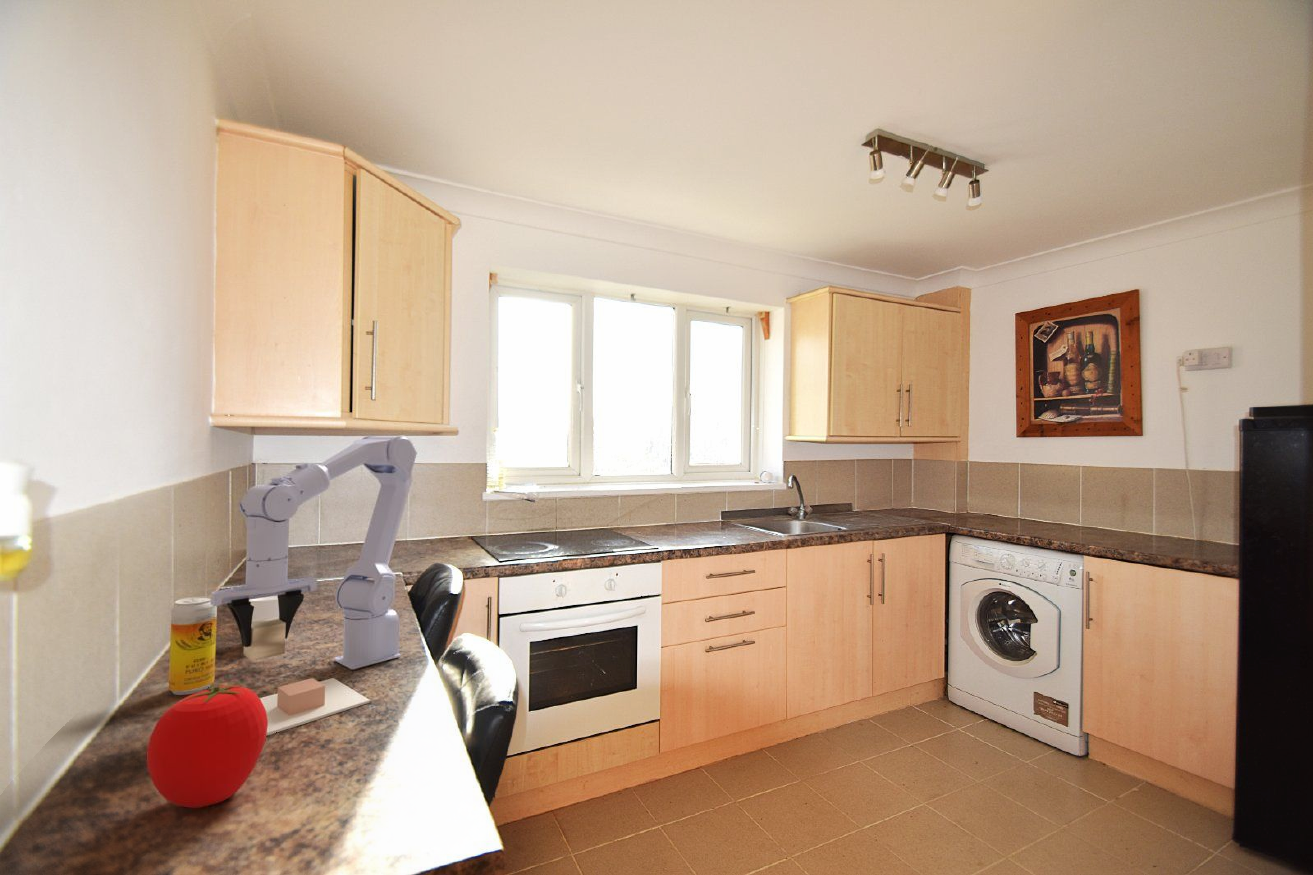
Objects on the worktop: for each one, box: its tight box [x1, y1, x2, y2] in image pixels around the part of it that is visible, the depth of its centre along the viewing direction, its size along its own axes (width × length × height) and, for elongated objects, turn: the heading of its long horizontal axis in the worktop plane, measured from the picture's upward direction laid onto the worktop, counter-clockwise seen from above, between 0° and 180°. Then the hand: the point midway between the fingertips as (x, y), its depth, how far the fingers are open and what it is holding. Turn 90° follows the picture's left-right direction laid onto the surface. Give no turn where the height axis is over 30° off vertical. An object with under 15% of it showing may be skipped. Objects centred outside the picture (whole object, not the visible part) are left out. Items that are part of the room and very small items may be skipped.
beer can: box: [168, 595, 218, 696], centre depth 99 cm, size 6×6×15 cm
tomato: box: [146, 682, 268, 809], centre depth 68 cm, size 11×11×13 cm
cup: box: [249, 595, 279, 622], centre depth 123 cm, size 9×9×10 cm
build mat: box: [259, 677, 371, 737], centre depth 92 cm, size 16×14×1 cm
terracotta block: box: [277, 677, 325, 716], centre depth 92 cm, size 5×5×3 cm
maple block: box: [243, 618, 286, 662], centre depth 95 cm, size 4×4×5 cm
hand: (265, 641), depth 95 cm, fingers closed on maple block, 4 cm apart
